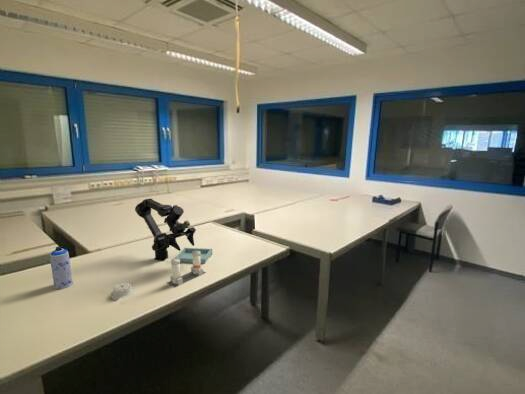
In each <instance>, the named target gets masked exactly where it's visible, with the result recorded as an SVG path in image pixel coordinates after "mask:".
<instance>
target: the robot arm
mask: <svg viewBox="0 0 525 394" xmlns="http://www.w3.org/2000/svg"><path fill="white" fill-rule="evenodd" d="M134 210H135V212H136V214H137V215H138V216H139V217H140V218H142V219H143V220H144V222H145V224H146V225H147V227H148V229H149V232H151V234H152V236H153V244H152V246H151V249H152V251H154V256H155V258H154V261H166V260H167V258H169V251H168V249H169V248H170V246H171V247H172V248H174V249H175V250H177V251H179V252H181V251H182V250H181V247H180V246H179V244H178V242H177V238H181V237H183V236H185V237H186V240H187V241H188V242H189V244H191V246H193V247H194V246H195V241H194V240H195V239H194V235H195V233H196V232H197V229H196V228H195V227H193V226H192V227H190V226H191V223H190V221H189V220H188V219H187V220H185V221H183V223H182V222H179V220H180V218H181V217H182V216H183V214H184V212H185V211H184V208H183V207H181V206H179V205H178V204H173V206H172V205H171V204H162V203H160V202H157V201H156V200H154V199H153V198H145V199H143V200H141V202H140V203H138V204H136V206H135V207H134ZM152 210H153V211H156V212H157V215H158V216H160V217H161V218H163V217H164V221H163V223H164V224H167V226H168V228H169V232H171V233H168V234H167V233H166V232H162V231H161V229H160V227H159V226H158V224H157V222H156V220H155V219H154V217H153V215H152Z"/></svg>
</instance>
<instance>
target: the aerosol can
mask: <svg viewBox="0 0 525 394" xmlns="http://www.w3.org/2000/svg"><path fill="white" fill-rule="evenodd" d="M49 260H50V261H49V262H50V267H51V273H52V279H53V288H54V289H56V290H63V289H68V288H69V287H72V286H73V285H74V282H73V277H72V269H71V261H70V260H71V259H70V254H69V251H68V250H67V249H66V248H62V246H60V245H58V246H56V247H55V249H54V250H53V251H51V252H50V253H49Z"/></svg>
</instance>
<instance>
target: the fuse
mask: <svg viewBox="0 0 525 394" xmlns="http://www.w3.org/2000/svg"><path fill="white" fill-rule="evenodd" d="M170 263H171V275H172V283H173V284H177V279H179V278H181V276H182V275H181V262H180V259H178V258H175V257H174V258H172V259H171V260H170Z"/></svg>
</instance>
